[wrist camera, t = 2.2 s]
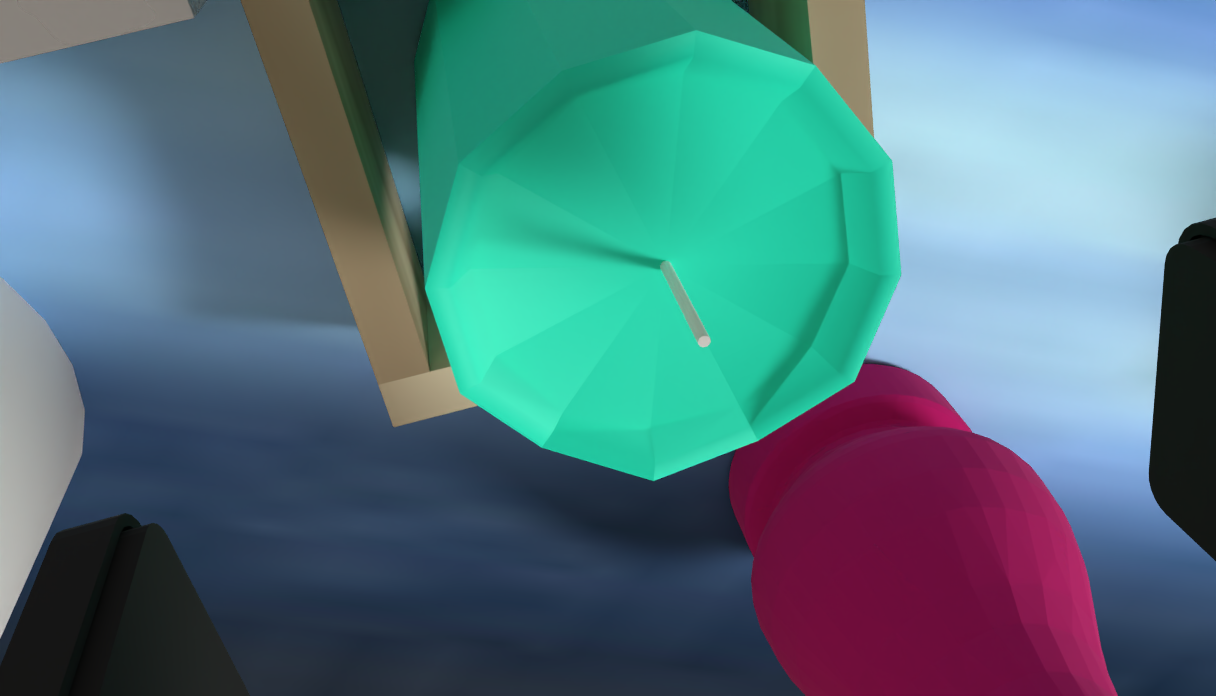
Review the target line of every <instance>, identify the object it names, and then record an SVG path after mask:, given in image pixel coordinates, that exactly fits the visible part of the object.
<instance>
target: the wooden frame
mask: <svg viewBox="0 0 1216 696" xmlns="http://www.w3.org/2000/svg"><path fill="white" fill-rule="evenodd" d="M241 3H242V6H243V8H244V11H245V14H246V17H247V20H248V22H249V25H250V28H251V31H252V33H253V36H254V39H255V42H256V45H257V47H258V50H259V53H260V56H261V59H262V61H263V64H264V67H265V70H266V73H267V75H268V78H269V81H270V84H271V87H272V89H273V92H274V95H275V98H276V100H277V103H278V106H279V109H280V112H281V114H282V117H283V120H284V123H285V126H286V128H287V131H288V134H289V137H290V140H291V142H292V145H293V148H294V151H295V154H296V156H297V159H298V162H299V165H300V167H301V170H302V173H303V176H304V179H305V181H306V184H307V187H308V190H309V193H310V195H311V198H312V201H313V204H314V207H315V209H316V212H317V215H318V218H319V221H320V223H321V226H322V229H323V232H324V234H325V237H326V240H327V243H328V246H329V248H330V251H331V254H332V257H333V260H334V262H335V265H336V268H337V271H338V274H339V276H340V279H341V282H342V285H343V288H344V290H345V293H346V296H347V299H348V301H349V304H350V307H351V310H352V313H353V315H354V318H355V321H356V324H357V327H358V329H359V332H360V335H361V338H362V341H363V343H364V346H365V349H366V352H367V354H368V357H369V360H370V363H371V366H372V368H373V371H374V374H375V377H376V380H377V382H378V385H379V388H380V391H381V394H382V396H383V399H384V402H385V405H386V408H387V410H388V413H389V416H390V419H391V421H392V424H393V427H397V426H401V425H404V424H408V423H412V422H416V421H420V420H424V419H428V418H432V417H436V416H440V415H444V414H448V413H451V412H455V411H459V410H463V409H467V408H471V407H475V406H478V405H476V404H475V403H473V402H472V401H470V400H469V399H467V398H466V397H464V396H463V395H461V394H460V392H459V389H458V386H457V383H456V380H455V377H454V374H453V371H452V368H451V365H450V362H449V359H448V356H447V353H446V351H445V348H444V345H443V342H442V339H441V336H440V333H439V330H438V327H437V324H436V321H435V318H434V315H433V312H432V309H431V306H430V303H429V300H428V297H427V294H426V291H425V283H424V276H423V272H422V269H421V266H420V263H419V260H418V256H417V253H416V250H415V247H414V244H413V240H412V237H411V234H410V231H409V228H408V225H407V221H406V218H405V215H404V212H403V209H402V205H401V202H400V199H399V196H398V193H397V189H396V186H395V183H394V180H393V177H392V173H391V170H390V167H389V164H388V161H387V157H386V154H385V151H384V148H383V145H382V142H381V138H380V135H379V132H378V129H377V126H376V122H375V119H374V116H373V113H372V110H371V106H370V103H369V100H368V97H367V94H366V90H365V87H364V84H363V81H362V78H361V75H360V71H359V68H358V65H357V62H356V59H355V55H354V52H353V49H352V46H351V43H350V39H349V36H348V33H347V30H346V27H345V23H344V20H343V17H342V14H341V11H340V7H339V4H338V1H337V0H241ZM748 7H749V14H750V15H751V16H752V17H753V18H755V19H756V20H757V21H759V22H760V23H761V24H762V25H764V26H765V27H766V28H768V29H769V30H770V31H772V32H773V33H774V34H775V35H777V36H778V37H779V38H781V39H782V40H783V41H785V42H786V43H787V44H788V45H790V46H791V47H792V48H794V49H795V50H796V51H798V52H799V53H800V54H801V55H803V56H804V57H805V58H807V59H808V60H809V61H811V62H812V63H813V64H814V65H816V66H817V68H818V69H819V70H820V71H821V73H822V74H823V75H824V76H825V78H826V79H827V80H828V81H829V83H830V84H831V85H832V86H833V88H834V89H835V90H836V91H837V93H838V94H839V95H840V96H841V98H842V99H843V100H844V101H845V103H846V104H847V105H848V106H849V108H850V109H851V110H852V111H853V113H854V114H855V115H856V116H857V118H858V119H859V120H860V121H861V123H862V124H863V125H864V126H865V128H866V129H867V130H868V131H869V133H870V134H871V135H872V136H873V138H874V132H873V117H872V103H871V88H870V73H869V59H868V44H867V29H866V14H865V0H748Z"/></svg>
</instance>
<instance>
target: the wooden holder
mask: <svg viewBox="0 0 1216 696" xmlns="http://www.w3.org/2000/svg"><path fill="white" fill-rule="evenodd" d="M206 2H207V0H0V63H4V62H9V61H13V60H17V59H21V58H26V57H30V56H34V55H39V54H43V53H47V52H51V51H56V50H60V49H64V48H68V47H73V46H77V45H81V44H86V43H90V42H94V41H98V40H103V39H107V38H111V37H115V36H120V35H124V34H128V33H133V32H137V31H141V30H145V29H150V28H154V27H158V26H162V25H167V24H171V23H175V22H180V21H184V20H188V19H192V18H195V16H196V15H197V14H198V12H199V11H200V10H201V8H202V7H203V6H204V4H205V3H206Z"/></svg>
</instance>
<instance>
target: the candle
mask: <svg viewBox="0 0 1216 696" xmlns="http://www.w3.org/2000/svg"><path fill="white" fill-rule="evenodd" d="M414 72H415V93H416V114H417V135H418V156H419V177H420V198H421V219H422V240H423V262H424V283H425V291H426V294H427V297H428V300H429V303H430V306H431V309H432V312H433V315H434V318H435V321H436V324H437V327H438V330H439V333H440V336H441V339H442V342H443V345H444V348H445V351H446V353H447V356H448V359H449V362H450V365H451V368H452V371H453V374H454V377H455V380H456V383H457V386H458V389H459V392H460V394H461V395H463V396H464V397H466V398H467V399H469V400H470V401H472V402H473V403H475V404H476V405H478V406H479V407H481V408H482V409H484V410H486V411H487V412H489V413H490V414H492V415H493V416H495V417H496V418H498V419H499V420H501V421H502V422H504V423H505V424H507V425H508V426H510V427H511V428H513V429H514V430H516V431H517V432H519V433H520V434H522V435H523V436H525V437H526V438H528V439H529V440H531V441H532V442H534V443H535V444H537V445H538V446H540V447H541V448H545V449H548V450H551V451H555V452H558V453H561V454H565V455H568V456H571V457H575V458H578V459H581V460H585V461H588V462H591V463H595V464H598V465H601V466H605V467H608V468H612V469H615V470H618V471H622V472H625V473H628V474H632V475H635V476H638V477H642V478H645V479H648V480H652V481H655V480H658V479H660V478H663V477H665V476H668V475H671V474H673V473H676V472H678V471H681V470H684V469H686V468H689V467H691V466H694V465H697V464H699V463H702V462H704V461H707V460H710V459H712V458H715V457H717V456H720V455H723V454H725V453H728V452H730V451H733V450H736V449H738V448H741V447H743V446H746V445H749V444H751V443H754V442H756V441H759V440H760V439H762V438H764V437H765V436H767V435H768V434H770V433H772V432H773V431H775V430H777V429H778V428H780V427H781V426H783V425H785V424H786V423H788V422H790V421H791V420H793V419H794V418H796V417H798V416H799V415H801V414H803V413H804V412H806V411H808V410H809V409H811V408H812V407H814V406H816V405H817V404H819V403H821V402H822V401H824V400H825V399H827V398H829V397H830V396H832V395H834V394H835V393H837V392H838V391H840V390H842V389H843V388H845V387H847V386H848V385H850V384H851V383H853V382H855V380H856V377H857V375H858V373H859V371H860V368H861V366H862V364H863V361H864V359H865V357H866V355H867V352H868V350H869V348H870V345H871V343H872V341H873V339H874V336H875V334H876V332H877V329H878V327H879V325H880V322H881V320H882V318H883V316H884V313H885V311H886V309H887V306H888V304H889V302H890V300H891V297H892V295H893V293H894V290H895V288H896V286H897V284H898V281H899V279H900V277H901V265H900V253H899V240H898V228H897V215H896V202H895V190H894V177H893V165H892V160H891V159H890V158H889V156H888V155H887V154H886V153H885V151H884V150H883V149H882V148H881V146H880V145H879V144H878V143H877V141H876V140H875V139H874V138H873V136H872V135H871V134H870V133H869V131H868V130H867V129H866V128H865V126H864V125H863V124H862V123H861V121H860V120H859V119H858V118H857V116H856V115H855V114H854V113H853V111H852V110H851V109H850V108H849V106H848V105H847V104H846V103H845V101H844V100H843V99H842V98H841V96H840V95H839V94H838V93H837V91H836V90H835V89H834V88H833V86H832V85H831V84H830V83H829V81H828V80H827V79H826V78H825V76H824V75H823V74H822V73H821V71H820V70H819V69H818V68H817V66H816V65H814V64H813V63H812V62H811V61H809V60H808V59H807V58H805V57H804V56H803V55H801V54H800V53H799V52H798V51H796V50H795V49H794V48H792V47H791V46H790V45H788V44H787V43H786V42H785V41H783V40H782V39H781V38H779V37H778V36H777V35H775V34H774V33H773V32H772V31H770V30H769V29H768V28H766V27H765V26H764V25H762V24H761V23H760V22H759V21H757V20H756V19H755V18H753V17H752V16H751V15H750V14H748V13H747V12H746V11H744V10H743V9H742V8H740V7H739V6H738V5H737V4H735V3H734V2H733V1H731V0H429V2H428V7H427V11H426V15H425V19H424V23H423V27H422V31H421V35H420V39H419V43H418V47H417V51H416V55H415V59H414Z"/></svg>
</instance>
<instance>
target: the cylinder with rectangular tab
mask: <svg viewBox="0 0 1216 696" xmlns="http://www.w3.org/2000/svg"><path fill="white" fill-rule="evenodd" d="M84 416H85V409H84V406H83V402H82V398H81V395H80V391H79V387H78V383H77V380H76V376H75V372H74V369H73V365H72V363H71V362H70V360H69V358H68V357H67V355H66V354H65V352H64V350H63V349H62V347H61V345H60V344H59V342H58V341H57V339H56V337H55V336H54V334H53V332H52V331H51V329H50V327H49V326H48V324H47V323H46V321H45V320H44V319H43V318H42V317H41V316H40V315H39V314H38V313H37V312H36V311H35V310H34V309H33V308H32V307H31V306H30V305H29V304H28V303H27V302H26V301H25V300H24V299H23V298H22V297H21V296H20V295H19V294H18V293H17V292H16V291H15V290H14V289H13V288H12V287H11V286H10V285H9V284H8V283H7V282H6V281H5V280H4V279H3V278H1V277H0V637H1V635H2V633H3V631H4V629H5V626H6V624H7V622H8V620H9V617H10V615H11V613H12V611H13V608H14V606H15V604H16V602H17V599H18V597H19V595H20V593H21V590H22V588H23V586H24V584H25V582H26V579H27V577H28V575H29V573H30V570H31V568H32V566H33V564H34V561H35V559H36V557H37V555H38V552H39V550H40V548H41V546H42V543H43V541H44V539H45V537H46V535H47V532H48V530H49V528H50V526H51V523H52V521H53V519H54V517H55V514H56V512H57V510H58V508H59V505H60V503H61V501H62V499H63V496H64V494H65V492H66V490H67V487H68V485H69V483H70V480H71V478H72V476H73V474H74V471H75V469H76V467H77V464H78V462H79V460H80V457H81V455H82V448H83V432H84Z"/></svg>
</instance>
